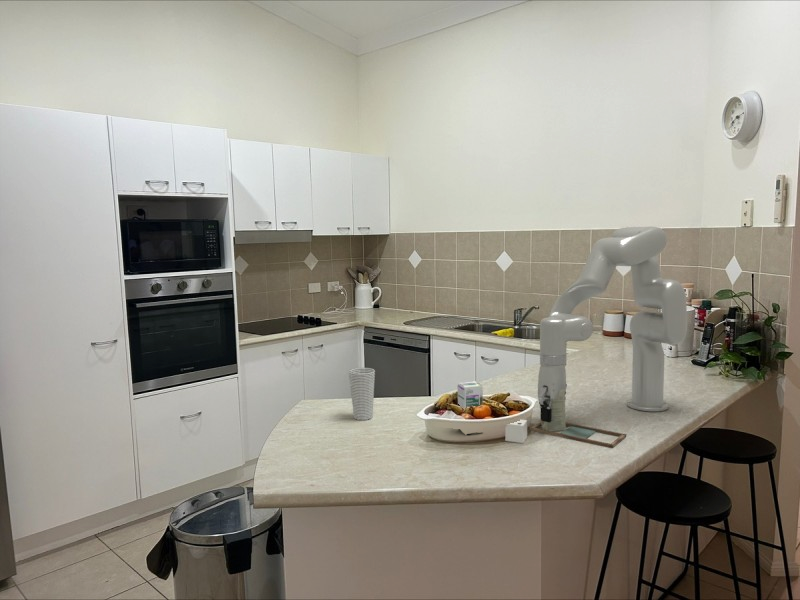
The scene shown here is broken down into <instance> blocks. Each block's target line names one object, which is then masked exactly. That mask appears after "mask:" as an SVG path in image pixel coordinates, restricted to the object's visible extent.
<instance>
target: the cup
mask: <svg viewBox="0 0 800 600" xmlns="http://www.w3.org/2000/svg"><path fill="white" fill-rule="evenodd" d="M375 375H376V370H375V369H374V368H371V367H354V368H351V369H349V370H348V378H349V379H348V380H349V385H350V387H349V388H350V392H351V393H350V395H351V403H352V404H351V405H352V410H353V412H352V413H353V418H354V419H355V420H356V419H357V421H369V420H371V419H373V413H374V398H375V397H374V396H375V378H376V377H375ZM368 419H369V420H368Z"/></svg>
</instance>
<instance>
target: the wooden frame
mask: <svg viewBox="0 0 800 600" xmlns="http://www.w3.org/2000/svg"><path fill="white" fill-rule="evenodd" d="M540 427H542V426H541V421H540V422H538V423H537V424H535V425H533V426H532V427H530V432H535V433H541V434H545V435H549V436H555V437H559V438H563V439H567V440H568V439H569V440H573V441H577V442H582V443H587V444H592V445H596V446H601V447H605V448H610V449H613V448H614V447H617V445H618V444H620V443H621V442H622V441H623V440H624V439H626V438H627V434H626V433H621V432H616V431H611V430H606V429H601V428H596V427H592V426H586V425H581V424H576V423H571V422H566V421H565V427H567V428H565V430H562V431H561V432H558V431H557V432H556V431H547V430H544V429H543V428H540ZM596 433H599V434H603V435H604V434H605V435H609V436H615V437H617V438H616V439H615V440H614V441H613V442H610V443H608V442H604V441H600V440H594V439H589V437H591V436H593V435H594V434H596Z"/></svg>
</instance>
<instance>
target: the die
mask: <svg viewBox="0 0 800 600" xmlns="http://www.w3.org/2000/svg"><path fill="white" fill-rule="evenodd" d="M504 430H505V439H504V441H505V442H510V443H517V444H518V443H519V444H524V442H526V440H527V438H528V420H527V419H520V421H517V422H514V423H510V424H507V426H506V427H504Z"/></svg>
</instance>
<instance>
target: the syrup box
mask: <svg viewBox="0 0 800 600" xmlns="http://www.w3.org/2000/svg"><path fill="white" fill-rule="evenodd" d="M456 386H457V405H458V404H459V405H460V406H461V407H462V408H463V409H465V408H467V407H470V406H479V405H481V404H483V405H484V403H483V402H484V401H483V395H484V394H483V392H484V391H483V385H482V384H481V383H480V382H478V381H475V380H474V381H467V382H457V385H456Z"/></svg>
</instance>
